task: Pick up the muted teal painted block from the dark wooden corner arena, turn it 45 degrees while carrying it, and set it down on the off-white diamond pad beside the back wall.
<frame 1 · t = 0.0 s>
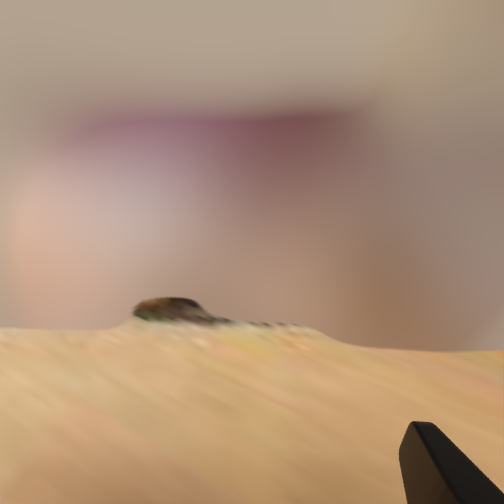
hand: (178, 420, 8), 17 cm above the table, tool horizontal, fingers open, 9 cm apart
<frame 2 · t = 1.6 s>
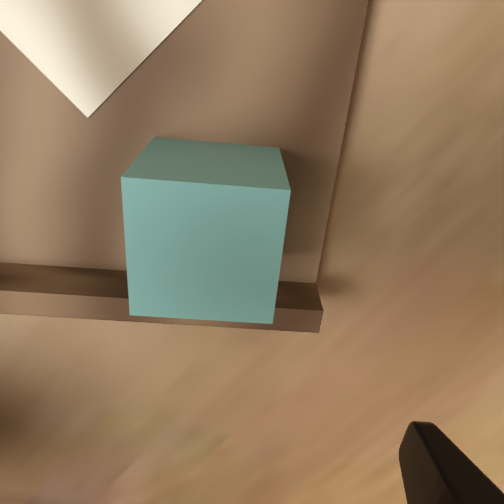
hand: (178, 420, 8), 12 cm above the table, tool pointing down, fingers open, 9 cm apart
arena: (118, 90, 17), on the table
teal block: (214, 200, 18), point 1 cm above the table, touching arena
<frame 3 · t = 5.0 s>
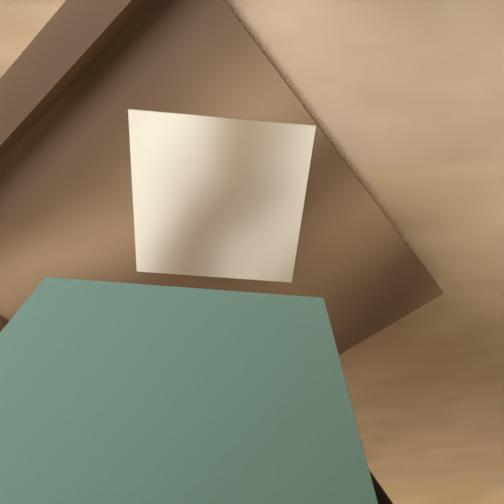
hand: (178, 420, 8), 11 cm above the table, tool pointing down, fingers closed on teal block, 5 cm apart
arena: (170, 264, 20), on the table
teal block: (184, 387, 9), point 11 cm above the table, touching gripper
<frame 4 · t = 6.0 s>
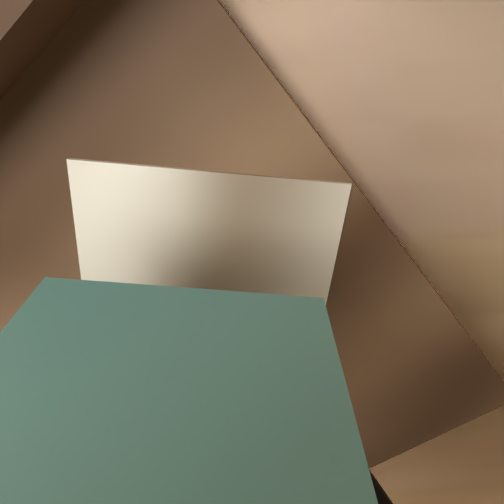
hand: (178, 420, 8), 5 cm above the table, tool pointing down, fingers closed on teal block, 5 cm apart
arena: (142, 356, 14), on the table
teal block: (184, 387, 9), point 5 cm above the table, touching gripper
when the fingers open (3 cm above the table, at t = 6.8 s): teal block drops 2 cm, resting on arena.
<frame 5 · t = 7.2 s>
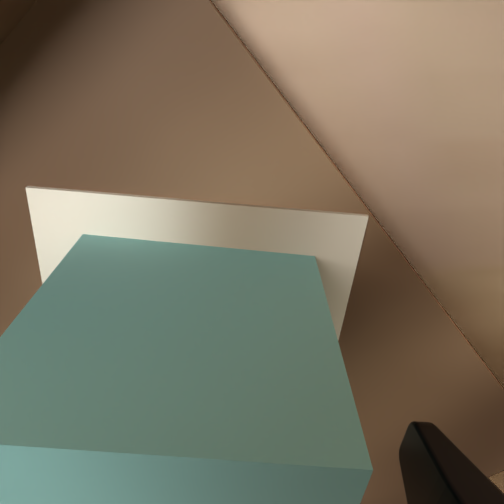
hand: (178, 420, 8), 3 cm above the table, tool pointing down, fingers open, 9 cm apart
arena: (125, 402, 13), on the table
teal block: (195, 335, 10), point 1 cm above the table, touching arena
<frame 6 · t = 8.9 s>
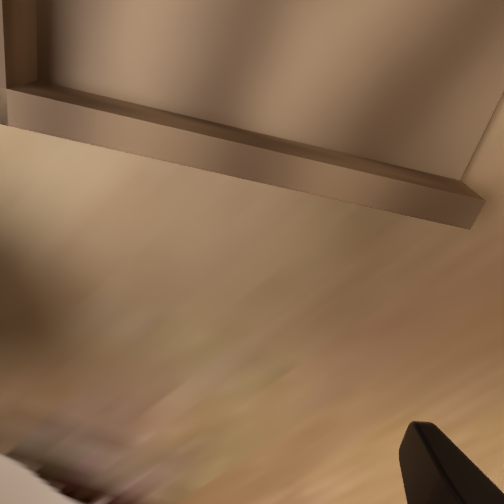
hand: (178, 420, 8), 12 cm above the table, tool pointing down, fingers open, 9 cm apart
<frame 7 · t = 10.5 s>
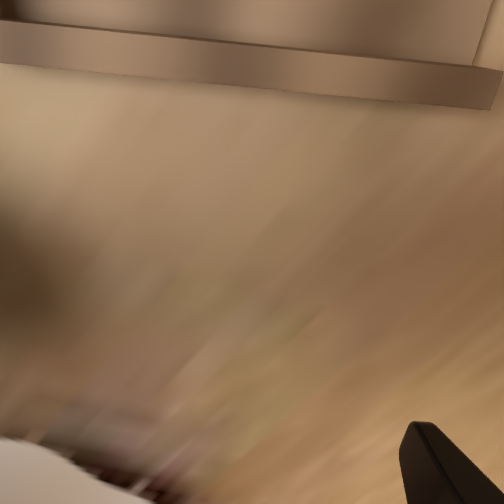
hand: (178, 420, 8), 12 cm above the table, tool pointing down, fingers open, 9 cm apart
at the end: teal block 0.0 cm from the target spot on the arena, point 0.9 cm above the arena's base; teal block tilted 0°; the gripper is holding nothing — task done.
